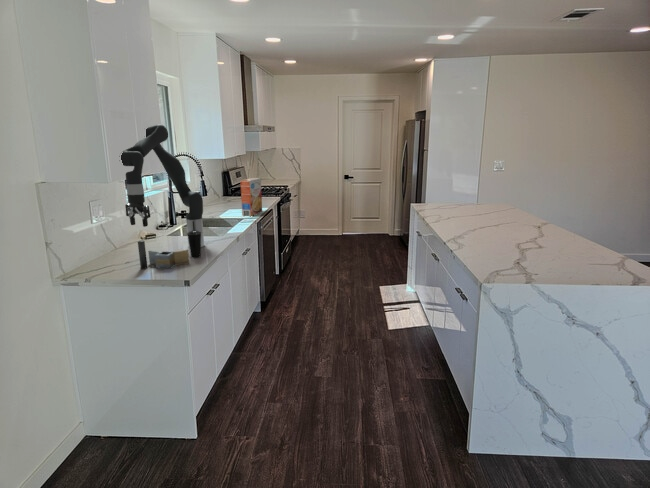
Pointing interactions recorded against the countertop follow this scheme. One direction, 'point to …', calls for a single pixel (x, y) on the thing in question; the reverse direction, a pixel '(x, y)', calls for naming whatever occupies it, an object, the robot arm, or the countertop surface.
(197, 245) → the drinking cup
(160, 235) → the countertop surface
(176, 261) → the hinge
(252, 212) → the pasta box
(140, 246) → the hinge pin
